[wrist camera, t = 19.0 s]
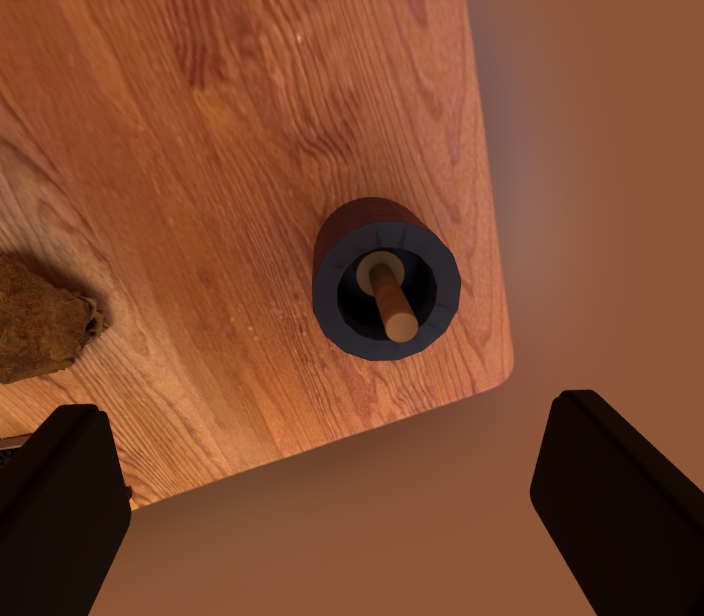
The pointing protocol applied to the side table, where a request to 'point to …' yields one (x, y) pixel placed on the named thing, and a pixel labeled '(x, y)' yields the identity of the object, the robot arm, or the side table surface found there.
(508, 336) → the side table surface
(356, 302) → the dark hollow tube
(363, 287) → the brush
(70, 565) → the robot arm
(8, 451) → the graphics card
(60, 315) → the decorative rock
